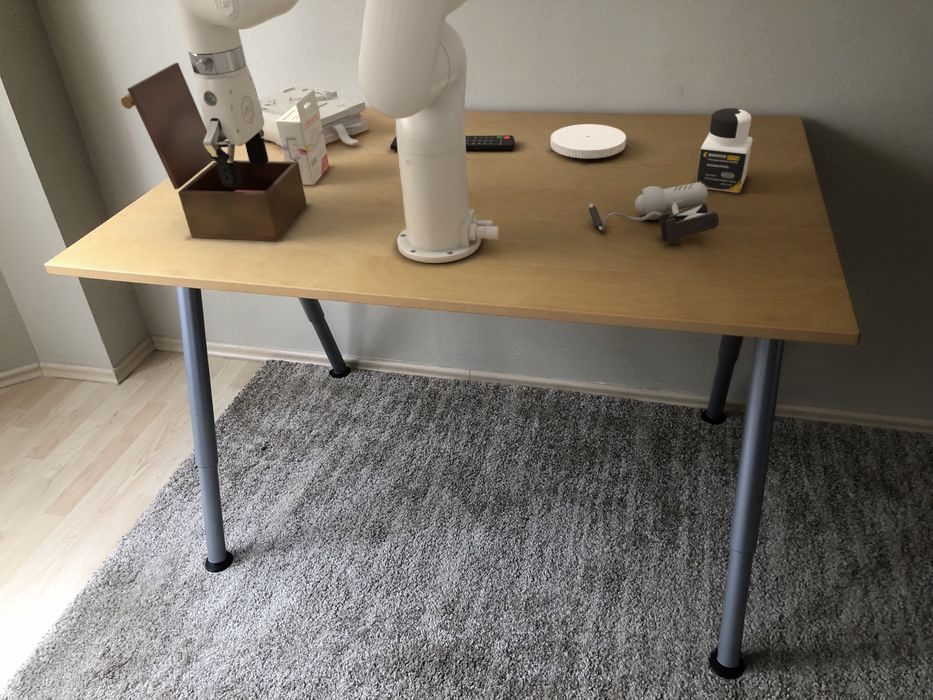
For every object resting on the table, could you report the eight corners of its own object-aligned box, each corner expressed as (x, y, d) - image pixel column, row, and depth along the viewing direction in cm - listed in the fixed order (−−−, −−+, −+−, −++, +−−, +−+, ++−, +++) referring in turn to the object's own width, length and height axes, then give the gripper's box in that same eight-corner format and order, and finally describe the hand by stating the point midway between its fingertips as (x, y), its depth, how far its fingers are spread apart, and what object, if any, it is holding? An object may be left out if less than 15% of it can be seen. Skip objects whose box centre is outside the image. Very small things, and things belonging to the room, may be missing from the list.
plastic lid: (625, 137, 142) (626, 124, 141) (625, 164, 131) (626, 150, 130) (553, 136, 145) (553, 123, 143) (547, 163, 134) (547, 149, 132)
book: (317, 164, 139) (310, 124, 135) (231, 136, 154) (222, 100, 150) (388, 134, 151) (384, 97, 146) (302, 111, 166) (296, 76, 161)
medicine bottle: (694, 188, 122) (705, 116, 115) (703, 172, 127) (713, 103, 120) (739, 193, 119) (752, 121, 112) (745, 177, 124) (758, 106, 117)
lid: (177, 62, 113) (147, 68, 115) (131, 87, 103) (99, 94, 104) (218, 156, 122) (189, 161, 123) (179, 188, 111) (148, 193, 113)
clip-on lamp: (596, 262, 109) (721, 239, 105) (588, 227, 105) (718, 201, 101) (592, 220, 118) (707, 197, 113) (585, 186, 114) (704, 161, 110)
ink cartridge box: (305, 166, 138) (290, 87, 130) (330, 167, 137) (316, 88, 129) (287, 185, 132) (270, 103, 123) (313, 185, 131) (298, 103, 122)
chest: (307, 205, 124) (298, 161, 119) (276, 241, 114) (266, 194, 109) (228, 202, 127) (216, 159, 122) (191, 237, 116) (177, 192, 112)
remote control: (396, 142, 146) (395, 136, 146) (515, 142, 143) (515, 135, 142) (390, 152, 142) (390, 145, 141) (513, 152, 139) (513, 145, 138)
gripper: (214, 78, 97) (245, 197, 107) (266, 45, 111) (289, 154, 121) (164, 78, 99) (198, 196, 109) (221, 46, 113) (247, 153, 122)
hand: (246, 173), depth 115 cm, fingers open, 9 cm apart
